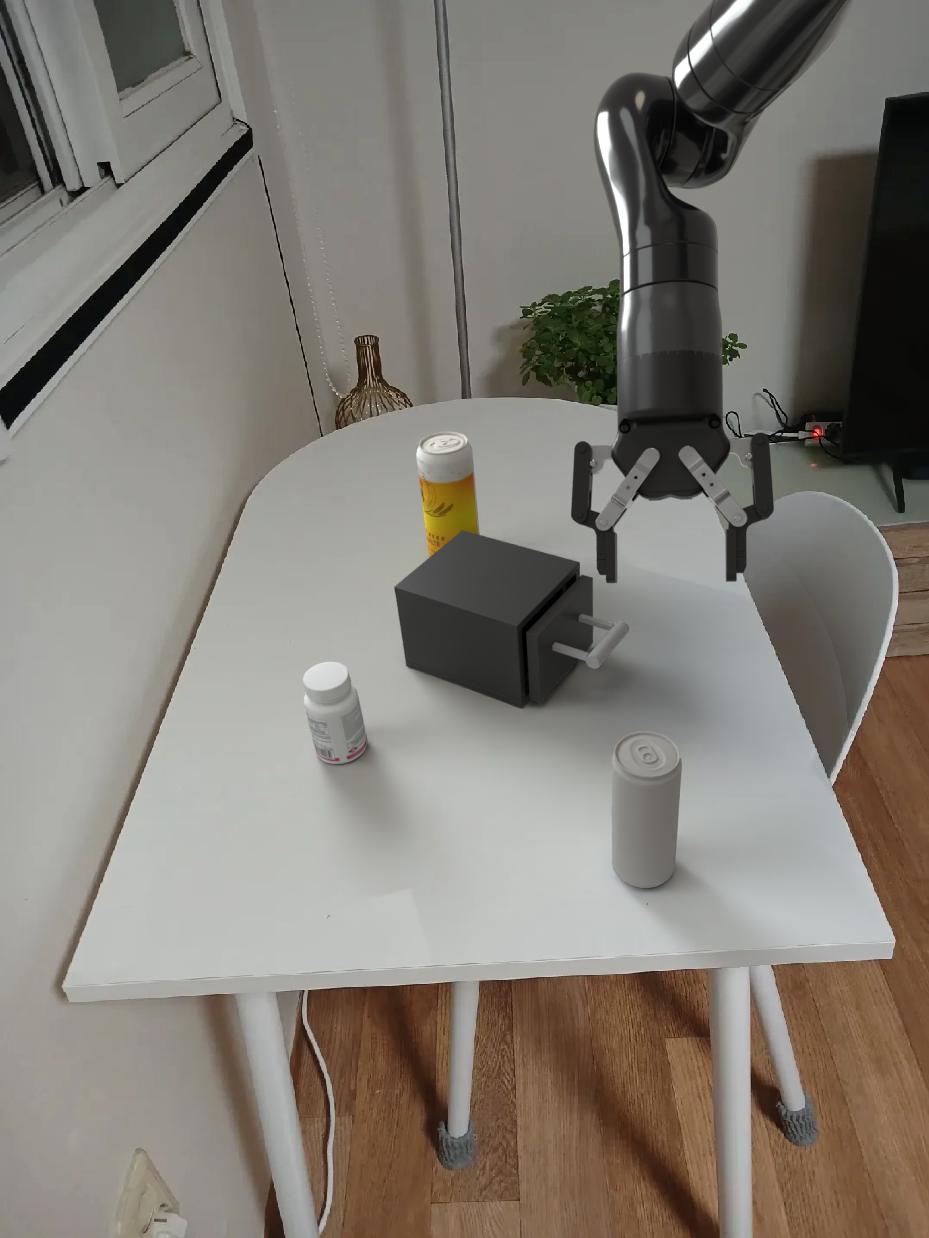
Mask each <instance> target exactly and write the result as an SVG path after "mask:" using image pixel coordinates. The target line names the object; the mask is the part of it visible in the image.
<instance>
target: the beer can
mask: <svg viewBox="0 0 929 1238" xmlns="http://www.w3.org/2000/svg"><path fill="white" fill-rule="evenodd" d="M473 453H474V451H473V447H472V445H471V443H470V442H469V439H468V437H467V436H466V435H465V434H463V433H461V432H456V431H440V432H439V431H438V432H434V433H430V434H428V435H426V436H424V437H423V438H421V439H420V440H419V442H418V448H417V450H416V453H415V456H416V464H417V471H418V479H419V488H420V495H421V504H422V512H423V521H424V528H425V537H426V545H427V552H428V558H429V557H431V556H432V555H433V554H434V553H435V552H437V551H438V550H439V549H440V548H441V547H443V546H444V545H445V544H446V543H447V542H449V541H450V540H451V539H452V538H453V537H455V536H456V535H457V534H458V533H459V532H461V531H462V530H463V531H467V532H471V533H474V534H478V535H481V533H480V523H479V521H480V520H479V511H478V510H479V509H478V500H477V487H476V477H475V476H476V475H475V466H474V465H475V464H474V454H473Z"/></svg>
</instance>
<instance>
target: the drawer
mask: <svg viewBox="0 0 929 1238" xmlns="http://www.w3.org/2000/svg"><path fill="white" fill-rule="evenodd" d="M594 627H595V628H598V629H602V630H605V631H607V633H606V634H605V635H604V636H603V637H602V638H601V640H600V641H599V642H598V643H597V644H596V645H595V647H593V648H592V650H591V651H590V652H587V651H588V649H589V648H591V646H592V645H593V643H594ZM629 632H630V626H629V624H628V623H627V622H626V621H624V620H618V621H616V622H615V623H614V622H611V621H607V620H604V619H601V618H598V617H594V577H592V576H589V575H586V574H580V577H579V578H578V579H577V580H576V581H575V582H574V583H573V584H572V585H571V586H570V587H569V588H568V590H567V591H566V584H565V585H564V586H563V587H562V588H561V589H560V590H559V591H558V592H557V593H556V594H555V595H554V596H553V597H552V598H551V599H550V600H549V601H548V602H547V603H546V604H545V605H544V606H543V607H542V608H541V609H540V610H539V612H538V613H537V614H536V615H535V616H534V617H533V618H532V619H531V620H530V621H529V622H528V623H527V624H526V625H525V626H524V627H523V628H522V644H523V661H524V678H525V683H526V682H527V681H528V680H529V694H530V700H529V701H533V702H536V703H538V704H542V703H543V702H544V701H545V699H546V698H547V697H548V695H550V693H551V692H552V691H553V690H554V688H555V687H556V686H557V685H558V684H559V683H560V682H561V681H562V679H563V678H564V677H565V676H566V675H567V673H569V671H570V670H571V669H572V668H573V667H574V666H575V664H577V662H578V661H579V660H581V661H584V662H585V663H586V665H587V666H588V667H589V668H591V669H594V670H596V669H599V668H600V666H601V665H602V664H603V663H604V662H605V661H606V659H608V657H609V656H610V655H611V654H612V653H613V651H614V650H615V649H616V647H617V646H618V645H619V644H620V643H621V641H622V640H623V639H624V638H625V637H626V635H627V634H628V633H629Z"/></svg>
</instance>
